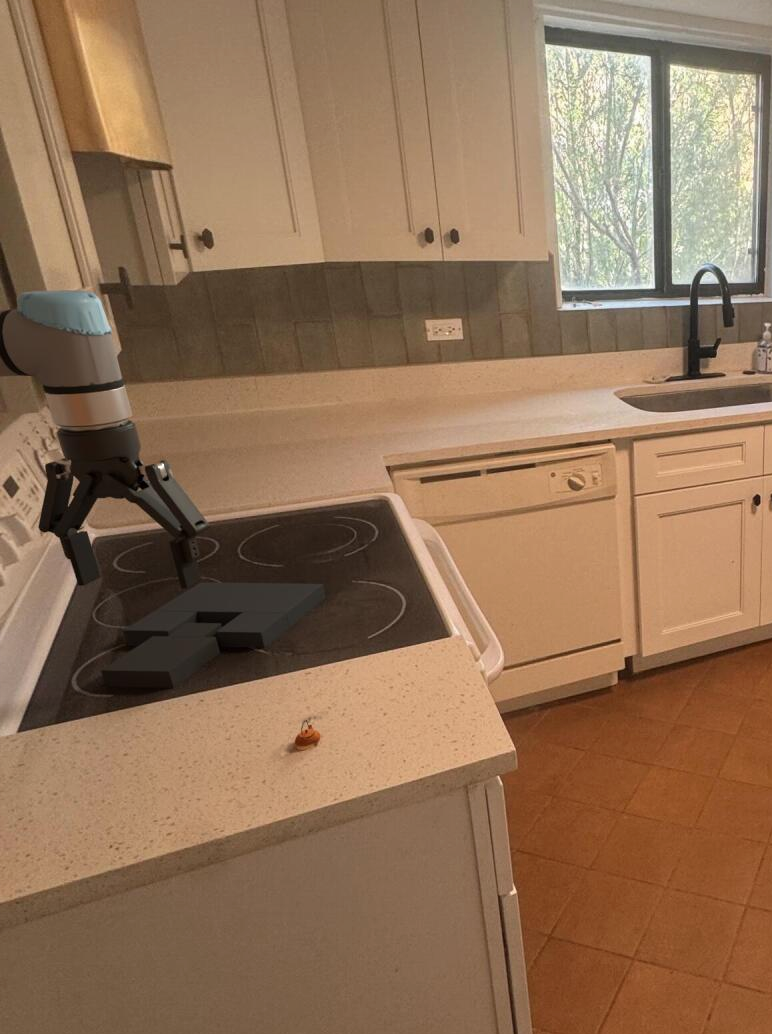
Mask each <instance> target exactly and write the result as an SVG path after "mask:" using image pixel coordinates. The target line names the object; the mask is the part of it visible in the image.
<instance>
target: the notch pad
mask: <svg viewBox="0 0 772 1034" xmlns="http://www.w3.org/2000/svg"><path fill="white" fill-rule="evenodd" d="M324 588H325V587H324V584H323V583H289V582H287V583H283V582H281V583H280V582H279V583H277V582H214V581H213V582H211V581H210V582H208V581H207V582H205V581H204V582H203V581H200V582H198V584H197V583H196V585H193V586H191V588H188V589H187V590H186V591H184V592H183V593H181V594H179V595H178V596H176V597H174V598H173V599H172V600H170V601H168V602H167V603H165V604H163V605H162V606H160V607H158V608H157V609H155V610H153V611H152V612H150V613H149V614H147V615H145V616H144V617H142V618H140V619H139V620H137V621H135V622H134V623H132V624H131V625H129V626H128V627H126V628H124V629H123V630H122V633H123V635H124V638H125V642H126V644H127V646H128V647H129V646H132V647H133V646H134V647H137V646H139V645H140V644H142V643H143V642H145V641H146V640H148V639H150V638H151V637H153V636H168V635H170V634H171V633H173V632H174V631H176V630H177V629H179V628H180V627H182V626H183V625H185V624H186V623H221V625H222V628H221V629H219V630H218V631H216V634H217V637H218V641H219V643H218V646H219V648H256V649H257V648H259V649H265V648H267V647H268V646H269V645H270V644H271V643H272V642H274V641H275V640H276V639H277V638H279V637H280V636H281V635H282V634H283V633H285V632H287V630H288V629H290V628H291V627H292V626H293V625H295V624H296V623H297V622H298V621H299V620H300V619H301V618H303V617H304V616H306V615H307V614H309V612H310V611H312V610H313V609H314V608H315V607H317V605H319V604H320V603H321V602H322V601H324V600H325V599H326V598H327V597H326V592H325V589H324Z"/></svg>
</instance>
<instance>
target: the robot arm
mask: <svg viewBox="0 0 772 1034" xmlns="http://www.w3.org/2000/svg"><path fill="white" fill-rule="evenodd" d="M16 305H17V306H16V308H13V309H0V377H33V376H38V378H39V380H40V383H41V386H42V388H43V392H44V394H45V399H46V402H47V405H48V408H49V412H50V416H51V419H52V424H53V425H55V426H57V427H60V428H58V429H57V431H56V435H57V439H58V442H59V446H60V449H61V452H62V455H63V458H60V459H56V460H54V461H51V462H47V463H45V465H44V469H45V475H46V478H47V479H46V480H47V482H46V486H45V492H44V496H43V502H42V507H41V512H40V517H39V521H38V527H37V528H38V530H39V531H40V532H41V533H52V534H54V536H55V537H56V538H58V539H59V542H60V544H61V547H62V551H63V554H64V557H65V558H66V559H67V560H70V564H71V567H72V571H73V574H74V576H75V580H76V583H77V586H79V587H80V586H82V587H83V586H86V585H88V584H90V583H92V582H95V581H96V580H98V579H100V578H101V577H102V576H101V572H100V569H99V565H98V562H97V559H96V556H95V552H94V549H93V545H92V541H91V540H90V536H89V533H88V531H86V530H82V529H84V528H85V527H84V526H82V525H83V524H84V522H85V521H86V518H87V517H88V515H89V514H90V512H91V510H92V509H93V507H94V505H95V503H96V502H97V501H98V499H107V498H112V499H116V500H123V499H125V500H126V501H127V502H129V503H131V504H135V505H136V506H138V507H139V508H140V509H141V510H142V511H143V512H145V514H147V515H148V516H149V517H150V518H151V519H153V520H154V521H155V522H156V524H158V525H159V526H160V527H161V528H163V529H164V530H165V531H166V532H167V533H168V534H170V535H171V536H172V538H174V539H171V540H169V541H168V542H169V547H170V550H171V554H172V558H173V561H174V566H175V570H176V573H177V577H178V581H179V584H180V588H181V589H186V590H188V589H190V587H191V588H192V587H193V586H195V584H197V583H200V582H201V581H202V575H201V571H200V567H199V564H198V560H199V559H200V557H201V552H200V549H199V545H198V541H197V536H198V535H200V534H201V533H204V532H205V531H208V530H209V529H210V524H209V522H208V520H206V517H204V515H203V514H202V513H201V511H200V510H199V509H198V508H197V506H196V505H195V503H194V502H193V501H192V500H191V498H190V497H189V496H188V494H187V493H186V491H185V490H184V489H183V488H182V486H181V485H180V484H179V482H178V481H177V479H176V478H175V477H174V475H173V472H172V470H171V466H170V464H169V461H167V460H165V459H162V460H159V461H156V462H152V463H144V462H143V461H142V459H141V457H140V451H141V448H142V444H141V440H140V436H139V433H138V429H137V425H136V423H135V422H133V420H129V419H130V418H132V416H133V411H132V407H131V404H130V400H129V397H128V393H127V388H126V386H125V381H124V379H123V376H122V371H121V367H120V364H119V360H118V356H117V355H118V354H117V352H116V351H117V350H116V347H115V343H114V338H113V335H112V334H113V329H112V327H111V326H110V324H109V321H108V318H107V315H106V312H105V310H104V307H103V304H102V300H101V298H99V296H98V295H96V294H95V293H93V292H91V291H88V290H78V289H75V290H73V289H67V290H66V289H65V290H63V289H61V290H33V291H25V292H21V293H19V294H18V295H17V297H16ZM74 478H75V479H76V480H77V481H78V484H77V486H76V488H75V489H74V491H73V493H72V489H73V484H74V480H75V479H74ZM139 489H140V490H139ZM71 494H72V496H73V498H72V499H71ZM70 499H71V501H70ZM80 530H81V531H80Z"/></svg>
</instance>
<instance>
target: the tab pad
mask: <svg viewBox="0 0 772 1034" xmlns="http://www.w3.org/2000/svg"><path fill="white" fill-rule="evenodd" d="M222 627H223V626H222V625H221V623H186V624H185V625H183V626H182V627H180V628H179V629H177V630H176V631H174V632H173V633H171V634H170V635H168V636H153V637H151V638H150V639H148V640H146V641H145V642H143V643H142V644H140V645H139V646H135V647H134V648H132V649H131V650H130V651H128V652H127V653H125V654H124V655H122V656H121V657H119V658H117V659H116V660H115V661H113V662H111V663H110V664H108V665H107V666H105V667H104V668H102V669H101V670H100V673H101V675H102V678H103V681H104V684H105V687H106V688H149V689H152V688H153V689H154V688H155V689H160V688H161V689H174V688H175V687H178V685H180V684H181V683H183V682H184V681H185V680H186V679H188V678H189V677H191V676H192V674H194V673H196V672H197V671H198V670H199V669H201V668H203V666H205V665H206V664H207V663H208V662H210V661H211V660H213V659H214V658H215V657H216V656H218V655H219V654H220V653H221V651H220V646H219V641H218V637H217V634H216V631H218V630H219V629H221V628H222Z"/></svg>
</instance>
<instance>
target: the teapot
mask: <svg viewBox="0 0 772 1034" xmlns="http://www.w3.org/2000/svg"><path fill="white" fill-rule="evenodd" d="M305 723H306V724H307V729H304V724H305ZM321 737H322V735H321V733H320V732H319V731H318V730H316V729H314V727H313V725H312V724H309V722H308V720H307V719H305V720H304V721H302V723H301V727H300V732H299V733H298V734H297V735H296V737H295V739H294V747H295V748H296V749H297V750H301V751H303V750H310V749H314V748H315V747H317V746H318V743H319V742H320V740H321Z"/></svg>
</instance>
